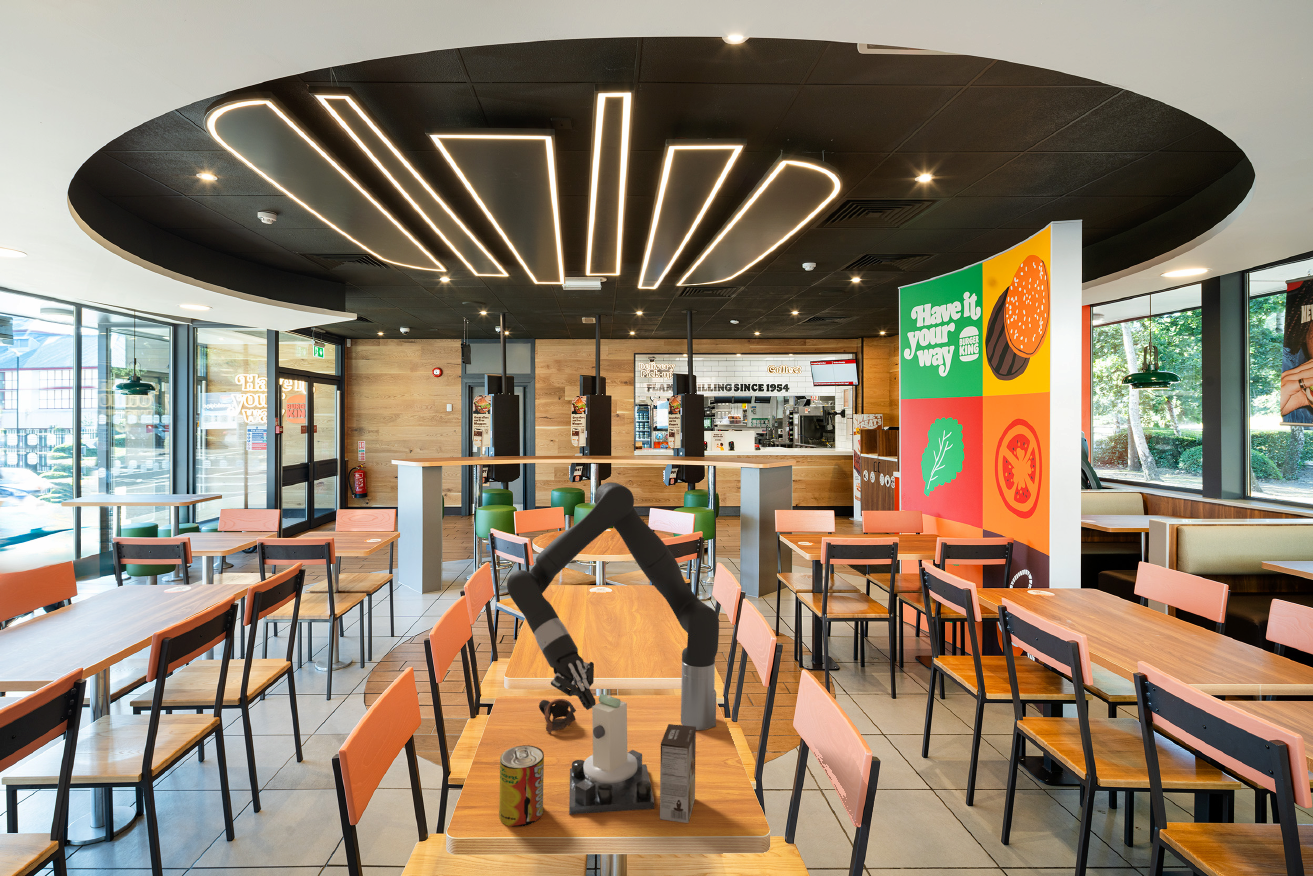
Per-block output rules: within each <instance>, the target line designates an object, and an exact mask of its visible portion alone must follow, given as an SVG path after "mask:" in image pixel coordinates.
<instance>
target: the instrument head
mask: <svg viewBox="0 0 1313 876" xmlns="http://www.w3.org/2000/svg"><path fill="white" fill-rule="evenodd" d="M598 702H599V703H597V704H595V705H594V706H592V708H591V709H592V711H591V712H592V714H591V715H592V716H591V717H592V719H591V720H592V754H591V755H590V756H588V757H587V758H586V759H585V760H584V761H585V762H584V765H583V768H584V774H585V776H586V777H587V778H588V779H589V781H590V782H592V783H595V782H599V783H617V782H621V781H624V780H627V779H629V778H630V777H632V776H633V775H634V774H635V773H636V771H637V759H636V758H635V757H634V756H633V755H632V754H630V753H628V752H629V751H628V703H627V702H626V701H622V700H621V699H619V698H618V697H617V698H616V697H614V696H612V695H607V694H604V693H601V694H599V696H598Z"/></svg>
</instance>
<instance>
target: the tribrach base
mask: <svg viewBox="0 0 1313 876" xmlns="http://www.w3.org/2000/svg"><path fill="white" fill-rule="evenodd" d="M627 752H628V753H630V754H632V755H633V756H634V757H635V758H636V759H637V771H636V773H635V774H634V775H633V776H632V777H630V778H629V779H627V780H624V781H621V782H617V783H599V782H595V783H592V782H590V781H589V779H588V778H587V777H586V776H585V774H584V768H583V765H584V762H585V760H583V759H576V760H573V761H572V762H571V768H569V798H568V799H569V800H568V801H569V802H568V803H569V807H568V808H569V809H568V813H569V814H568V815H579V814H580V815H581V814H582V815H583V814H594V813H595V814H598V813H611V812H624V811H625V812H627V811H642V810H643V811H644V810H655V799H654V794H653V789H652V782H651V780H650V776H649V771H648V767H647V764H645V763H644V764H643V753H642V752H639V751H636V750H634V749H631V750H629V751H627Z"/></svg>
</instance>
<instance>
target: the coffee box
mask: <svg viewBox="0 0 1313 876" xmlns="http://www.w3.org/2000/svg"><path fill="white" fill-rule="evenodd" d="M696 738H697V730H696V727H695V726H685V725H682V724H672V723H668V724H667V728H666V730H665V732H664V734H663V737H662V739H661V742H660V763H659V764H660V768H659V769H660V771H659V773H660V774H659V775H660V776H659V777H660V779H659V781H660V782H659V787H660V788H659V820H664V821H669V822H670V821H671V822H677V823H684V824H685V823H686V824H689V822H690V819H691V815H692V810H693V808H694V804H695V799H696V755H697V754H696V748H697V747H696V746H697V745H696V743H697V742H696Z"/></svg>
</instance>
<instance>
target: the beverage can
mask: <svg viewBox="0 0 1313 876" xmlns="http://www.w3.org/2000/svg"><path fill="white" fill-rule="evenodd" d="M544 766H545V754H544V751H543V750H542V749H541V748H539V747H538V746H534V745H530V744H528V745H524V744H523V745H516V746H513V747H511V748H508V749H506V750H505V751H503V753H501V754H500V757H499V801H498V802H499V805H498V812H499V813H498V818H499V821H500V822H501V823H502V824H503V825H505V826H508V827H512V828H521V827H522V828H523V827H528V826H530V825H532V824H535V823H536V822H538V821H539V820H540V819H541V818H542V816H543V813H544V778H545V777H544V776H545V775H544V774H545V773H544V772H545V771H544V770H545V769H544Z"/></svg>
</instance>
